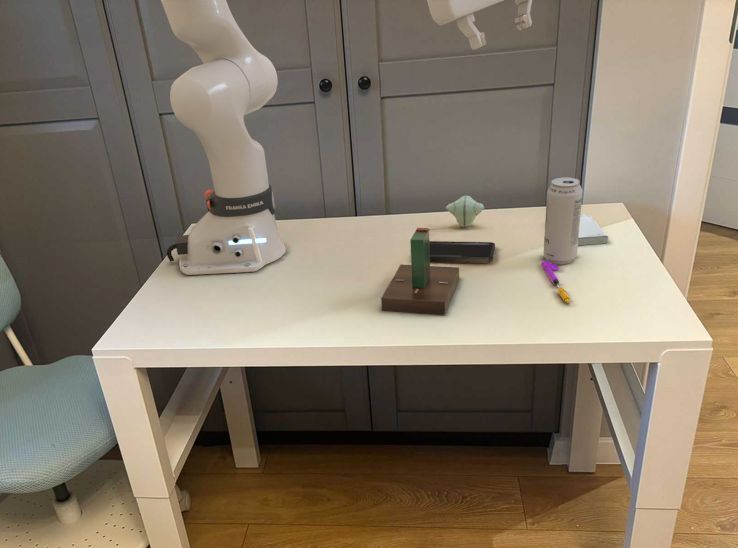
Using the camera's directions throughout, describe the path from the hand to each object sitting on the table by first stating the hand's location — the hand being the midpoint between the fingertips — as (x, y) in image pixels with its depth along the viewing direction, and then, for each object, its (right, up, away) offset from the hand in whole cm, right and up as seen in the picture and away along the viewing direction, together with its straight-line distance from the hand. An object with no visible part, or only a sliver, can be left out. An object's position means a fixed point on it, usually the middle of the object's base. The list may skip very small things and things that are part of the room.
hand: (502, 37), depth 103 cm
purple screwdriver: (+16, -34, +23) cm, 44 cm away
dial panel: (-8, -35, +24) cm, 44 cm away
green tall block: (-9, -33, +23) cm, 41 cm away
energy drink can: (+19, -28, +31) cm, 46 cm away
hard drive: (+26, -22, +41) cm, 53 cm away
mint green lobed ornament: (+5, -19, +50) cm, 54 cm away
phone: (0, -27, +38) cm, 46 cm away
